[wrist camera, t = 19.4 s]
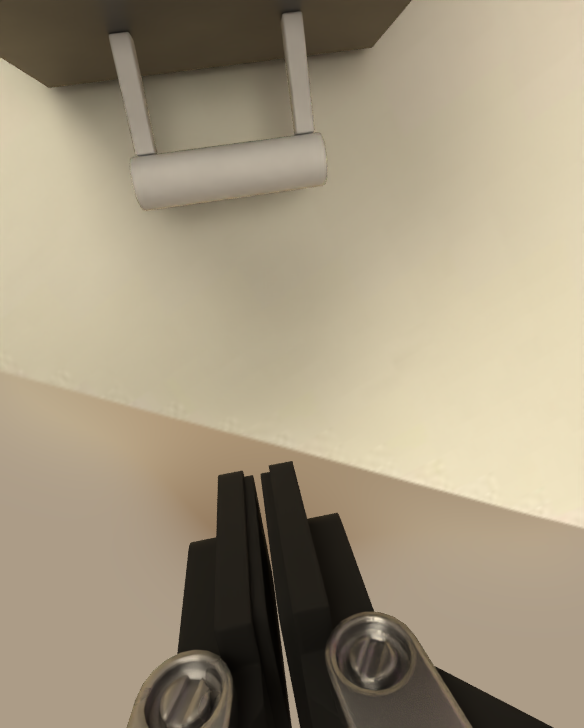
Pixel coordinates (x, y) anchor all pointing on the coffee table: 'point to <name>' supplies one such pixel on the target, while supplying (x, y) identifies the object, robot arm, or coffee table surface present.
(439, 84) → the coffee table surface
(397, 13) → the pulled-out drawer
